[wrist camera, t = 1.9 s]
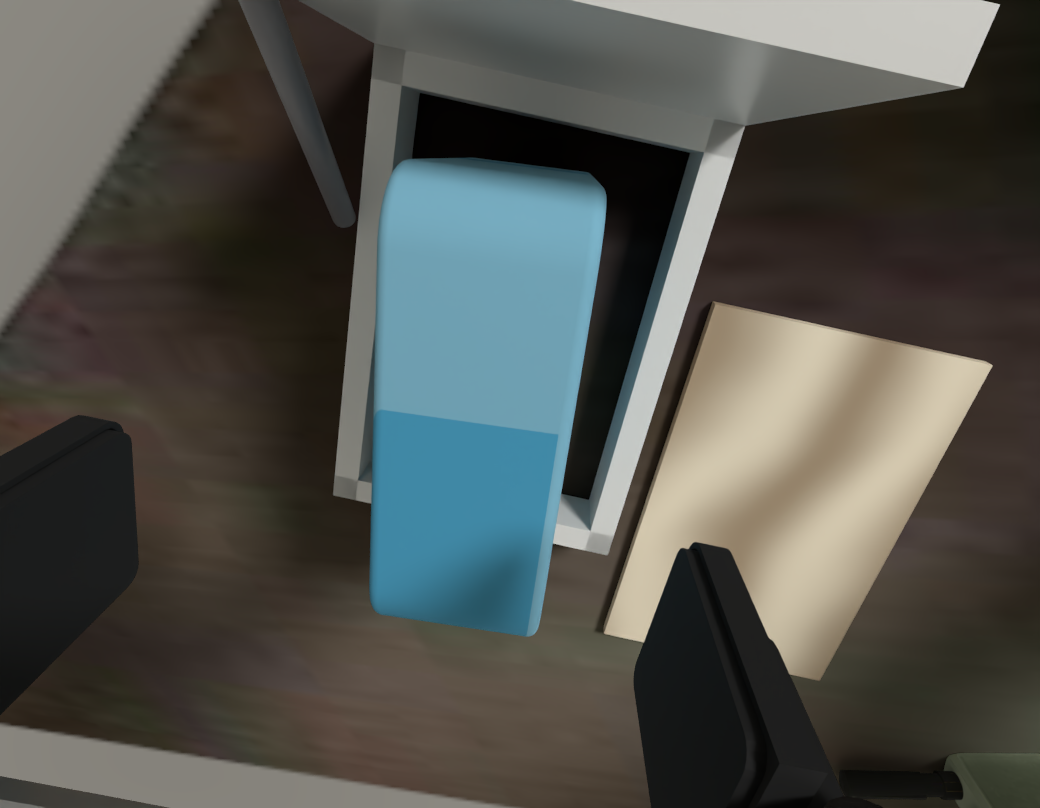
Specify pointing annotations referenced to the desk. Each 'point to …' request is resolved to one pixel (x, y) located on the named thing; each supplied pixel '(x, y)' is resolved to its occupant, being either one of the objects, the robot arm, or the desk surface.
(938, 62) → the stand
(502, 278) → the data package
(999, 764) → the handheld radio
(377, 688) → the desk surface
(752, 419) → the birch board
